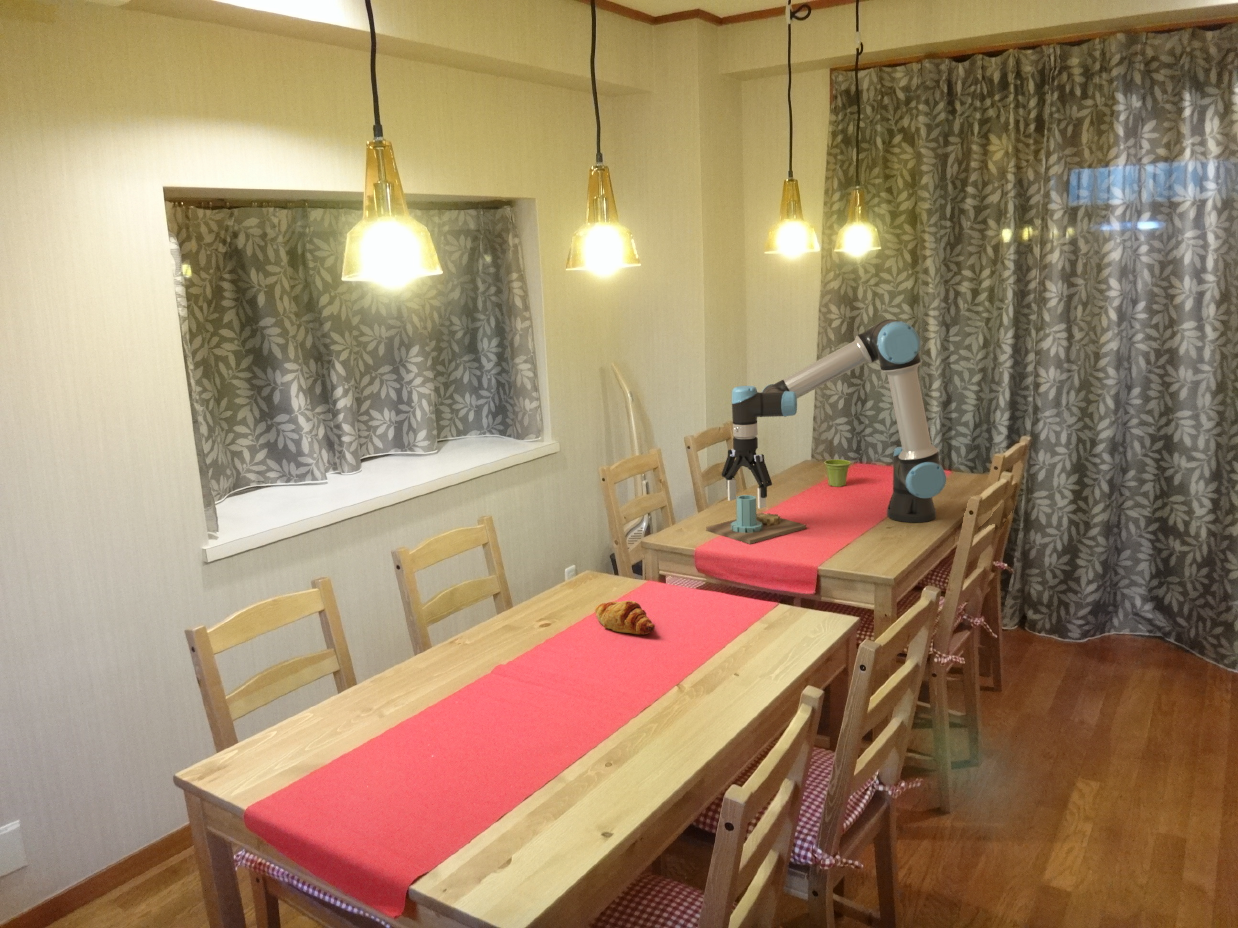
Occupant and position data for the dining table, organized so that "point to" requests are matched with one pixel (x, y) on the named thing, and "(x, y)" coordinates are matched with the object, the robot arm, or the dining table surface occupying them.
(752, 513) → the gear
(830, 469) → the plant pot
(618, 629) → the croissant
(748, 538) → the carrier board
